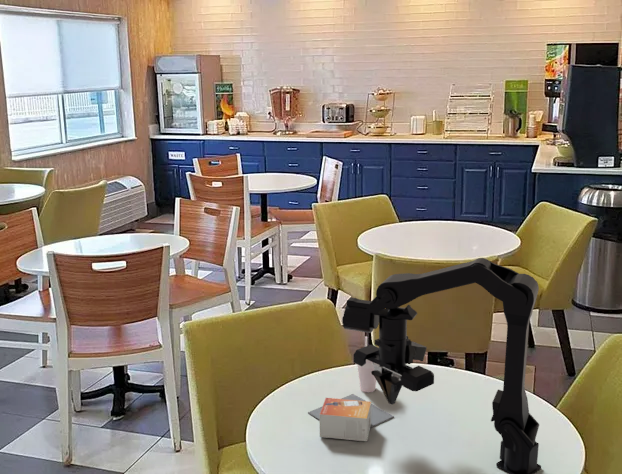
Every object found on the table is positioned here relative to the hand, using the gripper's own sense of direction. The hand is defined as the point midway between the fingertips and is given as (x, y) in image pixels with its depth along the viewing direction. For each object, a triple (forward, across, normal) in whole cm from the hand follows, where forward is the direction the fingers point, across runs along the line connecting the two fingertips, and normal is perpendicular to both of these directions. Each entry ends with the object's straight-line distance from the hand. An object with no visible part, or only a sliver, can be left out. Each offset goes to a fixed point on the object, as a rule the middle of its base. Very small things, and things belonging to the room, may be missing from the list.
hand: (391, 403), depth 148 cm
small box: (+5, +4, +2) cm, 7 cm away
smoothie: (+8, +20, -12) cm, 25 cm away
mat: (+8, +13, 0) cm, 15 cm away
